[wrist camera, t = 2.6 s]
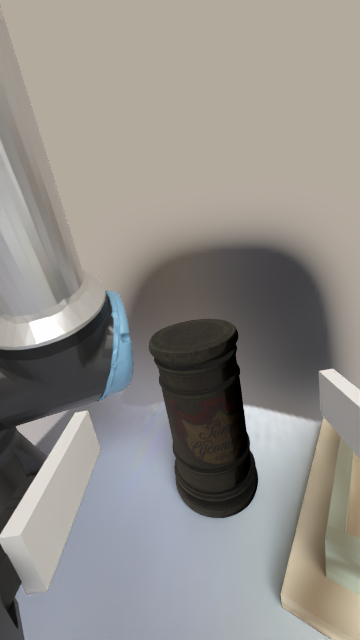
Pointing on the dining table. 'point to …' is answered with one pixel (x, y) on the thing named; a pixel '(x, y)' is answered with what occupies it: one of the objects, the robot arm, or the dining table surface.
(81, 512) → the dining table surface
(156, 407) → the dining table surface
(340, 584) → the collar board
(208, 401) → the container
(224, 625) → the dining table surface
